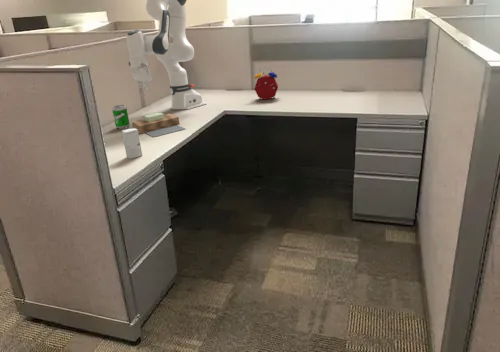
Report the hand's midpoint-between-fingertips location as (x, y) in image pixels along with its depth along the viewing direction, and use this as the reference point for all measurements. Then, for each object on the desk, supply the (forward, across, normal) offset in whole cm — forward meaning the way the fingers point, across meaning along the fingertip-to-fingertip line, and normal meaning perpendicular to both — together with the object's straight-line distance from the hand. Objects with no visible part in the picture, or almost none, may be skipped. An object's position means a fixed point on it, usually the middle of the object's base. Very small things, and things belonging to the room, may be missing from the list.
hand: (143, 89), depth 227 cm
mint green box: (+14, -8, 0) cm, 16 cm away
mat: (+19, -21, 0) cm, 29 cm away
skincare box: (+20, -47, +26) cm, 58 cm away
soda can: (+20, +5, +14) cm, 24 cm away
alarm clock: (+19, -8, -76) cm, 79 cm away
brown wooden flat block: (+19, -9, 0) cm, 21 cm away
